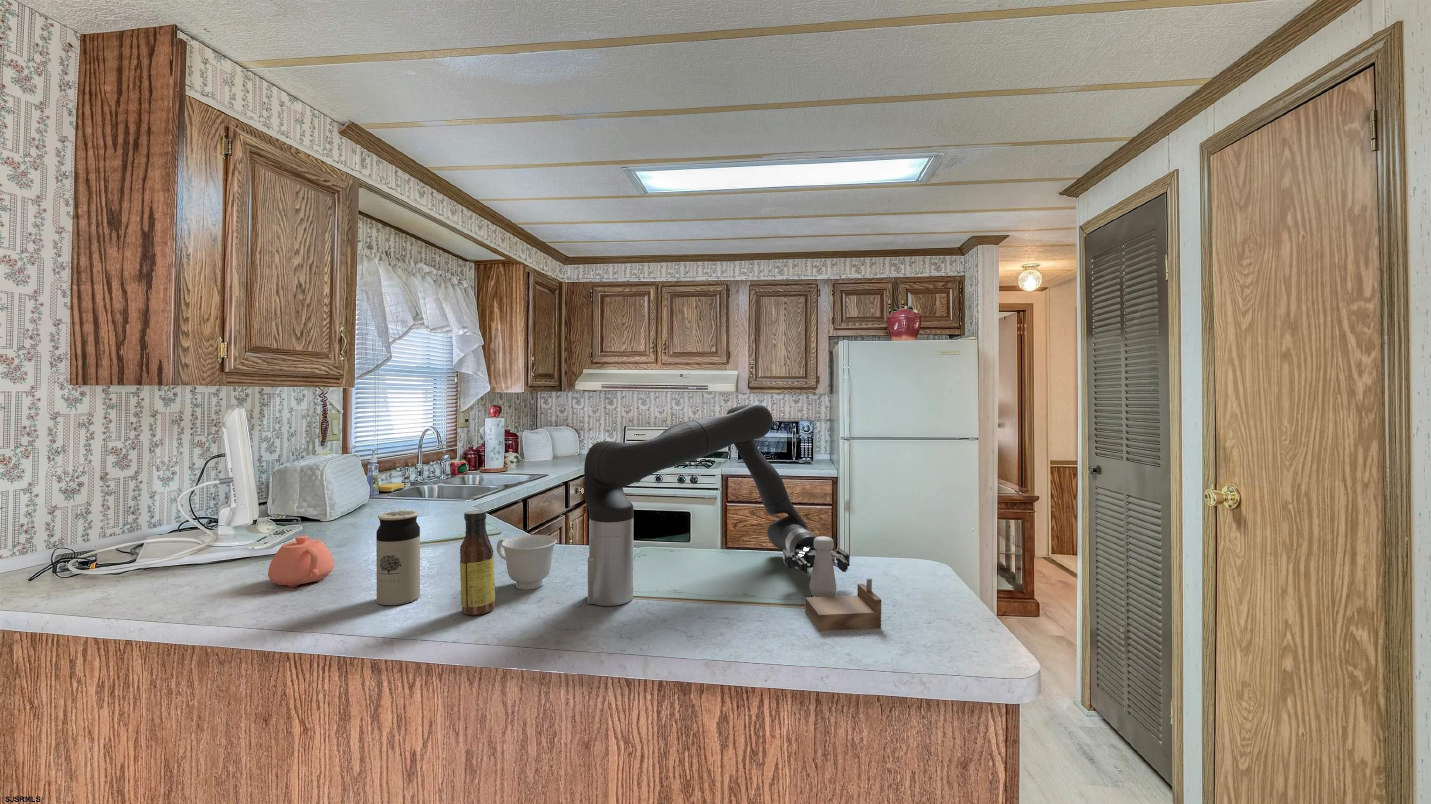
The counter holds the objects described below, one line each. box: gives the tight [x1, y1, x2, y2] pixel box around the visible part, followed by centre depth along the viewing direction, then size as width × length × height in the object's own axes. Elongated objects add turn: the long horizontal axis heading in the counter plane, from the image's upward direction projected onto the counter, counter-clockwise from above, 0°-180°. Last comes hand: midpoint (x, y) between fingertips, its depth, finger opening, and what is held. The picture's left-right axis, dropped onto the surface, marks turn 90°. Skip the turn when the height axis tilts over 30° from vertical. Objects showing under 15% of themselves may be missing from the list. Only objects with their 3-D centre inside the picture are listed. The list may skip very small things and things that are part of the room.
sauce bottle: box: [459, 509, 496, 616], centre depth 115 cm, size 7×6×20 cm
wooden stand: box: [804, 577, 882, 632], centre depth 112 cm, size 12×9×8 cm
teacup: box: [496, 534, 558, 590], centre depth 130 cm, size 12×15×10 cm
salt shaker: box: [808, 535, 838, 597], centre depth 124 cm, size 6×6×13 cm
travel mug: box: [375, 509, 421, 606], centre depth 120 cm, size 8×8×18 cm
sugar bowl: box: [267, 535, 335, 588], centre depth 131 cm, size 12×14×10 cm
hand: (825, 567), depth 122 cm, fingers open, 8 cm apart
